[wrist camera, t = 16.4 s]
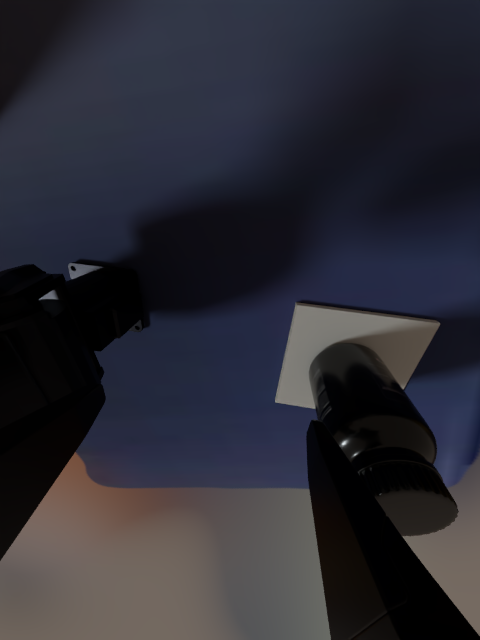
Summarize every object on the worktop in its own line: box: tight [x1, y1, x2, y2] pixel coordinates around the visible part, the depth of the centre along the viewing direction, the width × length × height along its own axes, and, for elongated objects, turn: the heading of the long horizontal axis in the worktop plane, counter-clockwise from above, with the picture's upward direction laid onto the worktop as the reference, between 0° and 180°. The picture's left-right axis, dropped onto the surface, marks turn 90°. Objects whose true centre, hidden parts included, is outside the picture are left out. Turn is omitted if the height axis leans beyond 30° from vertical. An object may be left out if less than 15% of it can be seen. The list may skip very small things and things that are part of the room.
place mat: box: [275, 302, 440, 409], centre depth 23 cm, size 12×12×1 cm
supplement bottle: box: [309, 343, 458, 536], centre depth 17 cm, size 7×7×12 cm
